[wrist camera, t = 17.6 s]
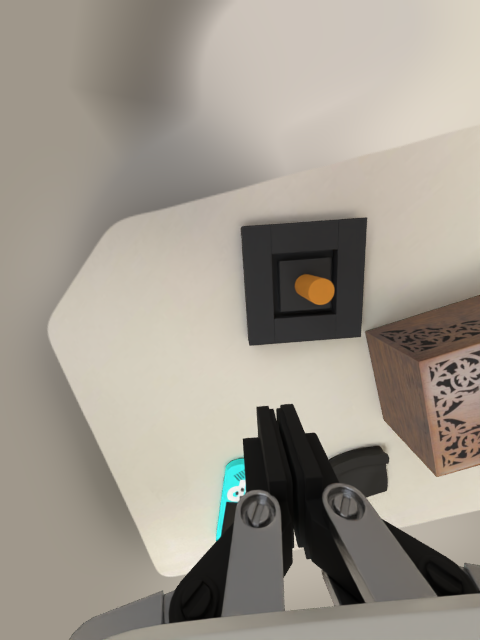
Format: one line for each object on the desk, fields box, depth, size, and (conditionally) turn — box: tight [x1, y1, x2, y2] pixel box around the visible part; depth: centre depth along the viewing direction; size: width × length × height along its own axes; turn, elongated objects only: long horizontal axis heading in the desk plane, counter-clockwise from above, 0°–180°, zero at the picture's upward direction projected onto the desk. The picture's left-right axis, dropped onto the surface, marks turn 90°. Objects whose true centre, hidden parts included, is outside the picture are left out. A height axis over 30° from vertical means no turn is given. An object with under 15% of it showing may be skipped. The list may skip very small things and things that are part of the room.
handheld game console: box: [216, 458, 246, 541], centre depth 40 cm, size 10×16×1 cm, turn 173°
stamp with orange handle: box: [277, 257, 334, 312], centre depth 28 cm, size 6×6×7 cm
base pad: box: [241, 218, 367, 346], centre depth 31 cm, size 14×14×2 cm
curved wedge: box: [329, 446, 389, 497], centre depth 39 cm, size 8×14×2 cm, turn 101°
